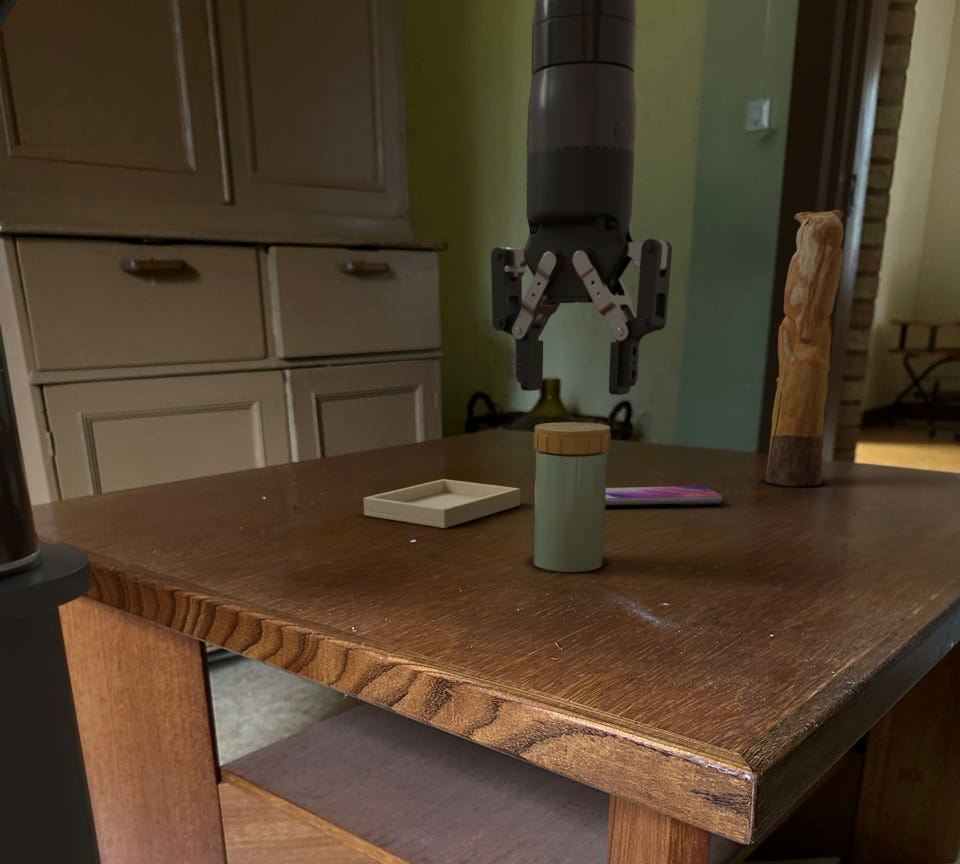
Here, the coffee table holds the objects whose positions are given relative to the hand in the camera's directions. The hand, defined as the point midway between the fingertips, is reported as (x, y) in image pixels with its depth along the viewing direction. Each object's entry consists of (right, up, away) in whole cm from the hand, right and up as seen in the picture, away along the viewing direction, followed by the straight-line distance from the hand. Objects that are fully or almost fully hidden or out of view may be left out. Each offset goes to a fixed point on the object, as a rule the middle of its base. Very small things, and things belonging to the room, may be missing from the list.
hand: (573, 391), depth 70 cm
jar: (0, -13, +4) cm, 14 cm away
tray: (-11, -6, +24) cm, 27 cm away
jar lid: (0, -3, +1) cm, 3 cm away
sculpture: (+31, 0, +41) cm, 51 cm away
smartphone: (+11, -4, +28) cm, 31 cm away
